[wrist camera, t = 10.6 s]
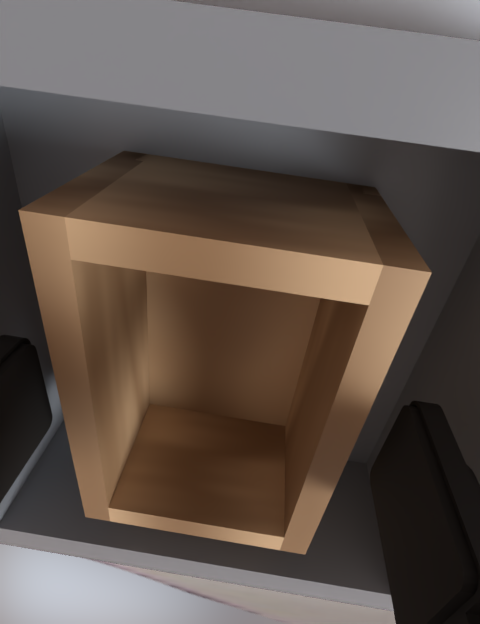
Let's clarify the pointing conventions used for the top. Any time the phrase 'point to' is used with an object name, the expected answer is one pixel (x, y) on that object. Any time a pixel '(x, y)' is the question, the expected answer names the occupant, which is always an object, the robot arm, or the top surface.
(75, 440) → the box
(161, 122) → the grey open box
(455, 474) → the robot arm
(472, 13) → the top surface
